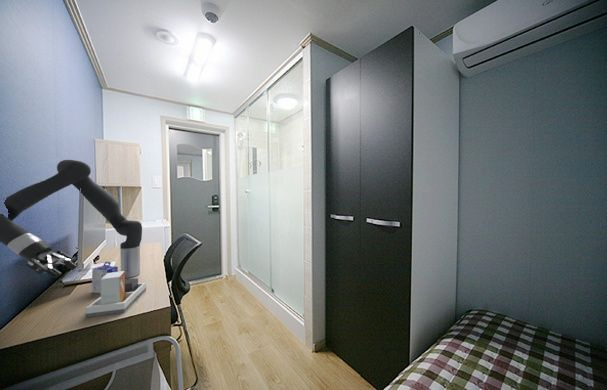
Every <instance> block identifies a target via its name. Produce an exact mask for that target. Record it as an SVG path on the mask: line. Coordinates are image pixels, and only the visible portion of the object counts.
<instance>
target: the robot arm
mask: <svg viewBox="0 0 607 390" xmlns="http://www.w3.org/2000/svg"><path fill="white" fill-rule="evenodd" d="M56 170H57V173H55V174H54V175H53V176H51V177H49V178H47V179H45V180H41V181H39V182H37V183H33V184H31V185H28V186H26V187H24V188H22V189H20V190H17V191H16V192H14V193H12V194H11V195H9V196H6V197H5V198H6V200H5V202H4V204H5V206H6V208H7V209H8V213H9V214H8V218H7V217H5V216H4V215H3V214H0V244H3V245H4V246H6V247H8V249H9V250H11V251H12V252H14V254H17V255H18V256H20V258H23V260H26V261H27V263H26V264H25V266H27V267H29V268H30V270H33V271H34V272H36V273H37V274H39V275H41V274H42V273H43V274H48V275H49V276H51V277H52V278H55V279H57V278H59V277H60V276H61V275H62V272H61V271H59V270H57V268H55V267H53V265H64V266H65V267H66V268H67V269H69V270H70V271H74V270H75V269H76V268H78V265H77V264H75V263H74V262H73V261H72V259H73V256H71V255H70V254H68V253H67V252H65V251H63V250H62V249H58V250H57V251H53V250H52V249H53V246H51V245H50V244H48V243H47V242H46V241H44V240H42V239H41V238H40V237H38V236H36V235H34V234H33V233H31V232H29V231H28V230H27V229H25V228H23V227H21V226H20V225H18V224H16V223H15V222H14V220H15V219H16V218H17V217H19V216H20V215H21V214H22V213H23V212H24V211H26V210H28V209H30V208H31V207H33V206H34V205H36V204H37V203H39V202H41V201H43V200H44V199H46V198H48V197H49V196H51V195H53V194H54V193H56V192H58V191H60V190H63V189H65V188H67V187H68V186H71V185H72V186H74V188H76V189H77V190H78V191H79V192H80V188H81V192H80V194H81V195H82V196H83V197H84V198H85V199H86V200H87V201H88V203H90V204H91V206H93V208H94V209H95V210H96V211H98V212H99V214H101V216H103V218H104V219H106V220H107V221H108V222H109V224H110V225H111V226H112V227H113V228H114V230H115V231H116V232H117V234H119V235H120V236H123V237H125V238H126V239H125V241H123V242H121V243H120V246H119V247H120V251H119V253H120V255H119V257H120V258H119V259H120V261H119V263H120V265H119V267H120V271H119V272H121V271H125V279H130V278H134V277H136V276H137V277H138V276H139V275H140V274H141V242H142V236H143V226H142V223H141V222H140V221H138V220H130V219H127V218H125V216H124V215H123V214H122V213H121V211H120V205H119V202H118V201H117V200H116V199H115V197H114V196H113V195H112V194H111V193H110V192H109V191H108V190H106V189H105V188H104V187H102V186H101V185H99V184H98V183H96V182H95V181H94V180H93V178H91V177H90V175H91V172H92V169H91V167H90V166H89V164H87V163H86V162H83V161H80V160H75V159H63V160H61V161H59V162H58V163H57V165H56Z"/></svg>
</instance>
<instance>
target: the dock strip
mask: <svg viewBox="0 0 607 390" xmlns="http://www.w3.org/2000/svg"><path fill="white" fill-rule="evenodd" d="M146 291H147V282H139V278H138V277H136V278H125V299H124V300H123V302H120V303H111V304H103V305H101V296H100V297H98V298H97V299H95V300H94V301H93V302H92V303H90V304H89V305H88V306H85V318H92V317H100V315H101V316H108V315H107V314H109V315H115V314H114V313H116V314H123V313H126V312H127V311H128V310H129V308H130V307H132V305H134V303H135V302H136V301H137V300H139V298H140V297H141V296H142V295H143V294H144V293H145V292H146Z"/></svg>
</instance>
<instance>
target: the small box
mask: <svg viewBox="0 0 607 390" xmlns="http://www.w3.org/2000/svg"><path fill="white" fill-rule="evenodd" d="M125 279H126V278H125V271H121V272H120V271H118V272H112V273H107V274H106V275H105V276H104V277H103V278H102V279H101V293H100V297H101V305H103V304H111V303H120V302H123V300H124V299H125Z"/></svg>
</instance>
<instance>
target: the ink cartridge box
mask: <svg viewBox="0 0 607 390" xmlns="http://www.w3.org/2000/svg"><path fill="white" fill-rule="evenodd" d="M111 264H112V262H110V261H105V262H104V264H103V265H100V266H97V267H94V268H92V270H91V271H92V272H91V274H92V276H91V293H95V294H101V279H102V278H103V277H104V276H105V275H106V274H107V273H112V272H119V271H118V270H119V269H118V268H119V267H118V266H113V265H111Z"/></svg>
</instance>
